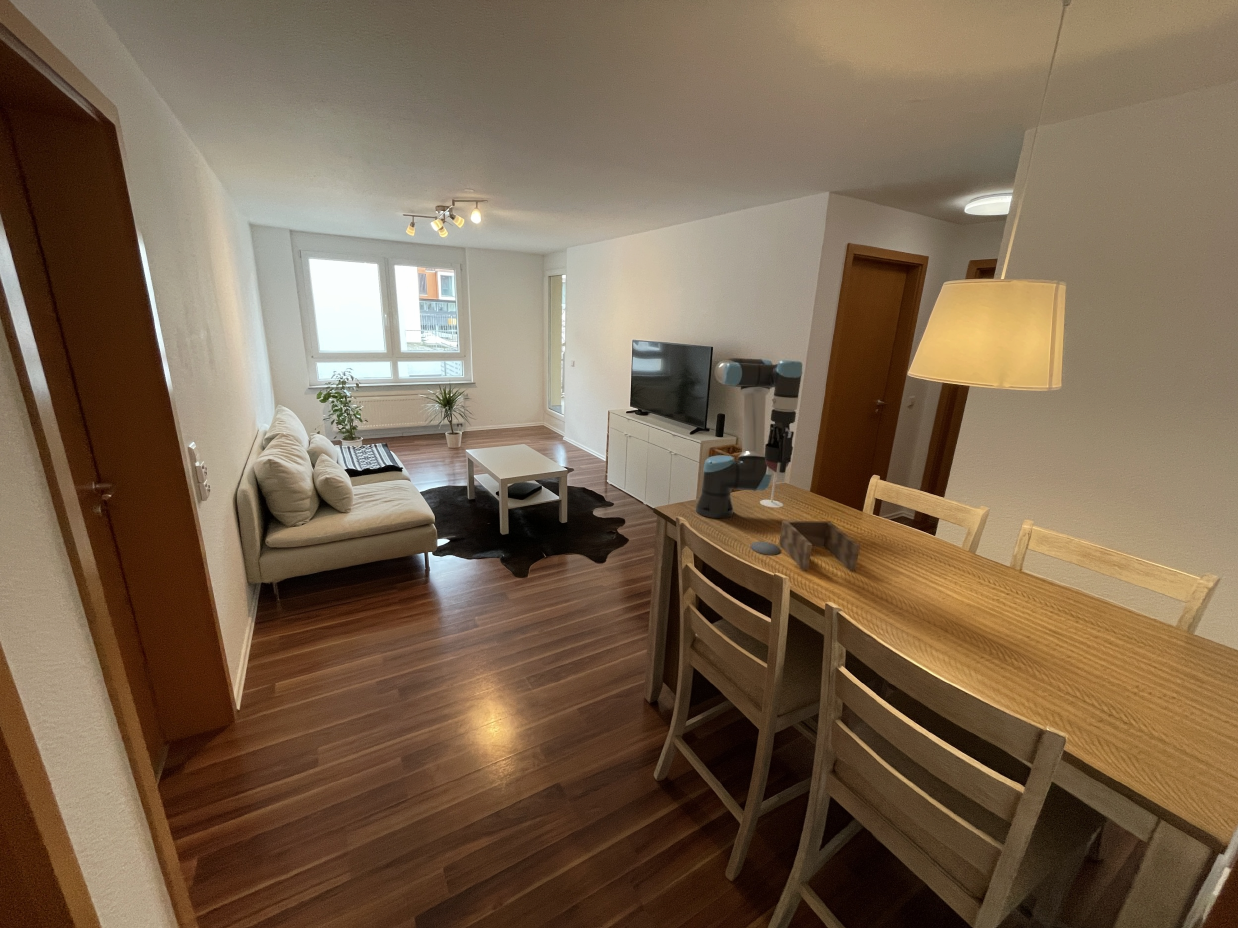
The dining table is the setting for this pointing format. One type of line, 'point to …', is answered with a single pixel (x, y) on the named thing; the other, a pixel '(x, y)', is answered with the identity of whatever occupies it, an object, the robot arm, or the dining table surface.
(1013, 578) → the dining table surface
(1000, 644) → the dining table surface
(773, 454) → the wineglass
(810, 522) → the walnut u-shaped bracket
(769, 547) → the felt coaster
